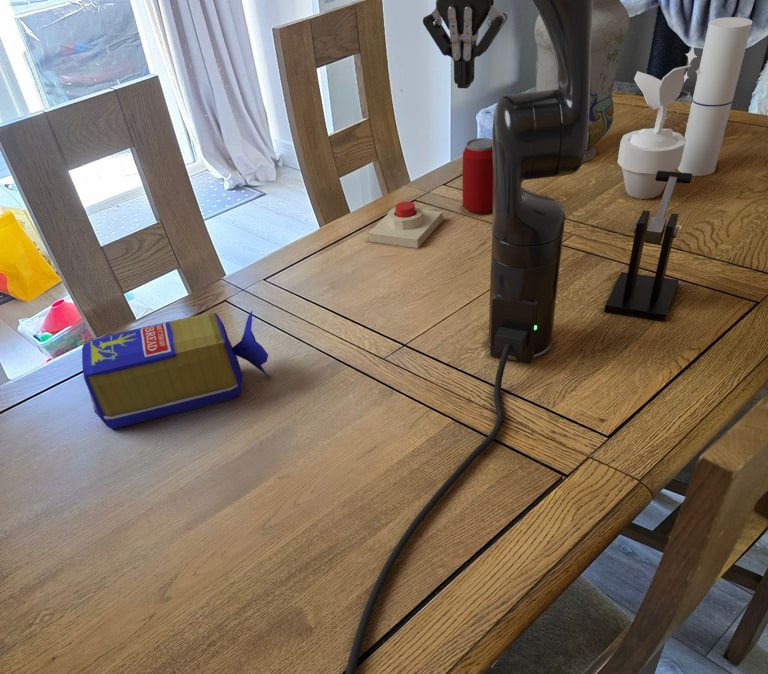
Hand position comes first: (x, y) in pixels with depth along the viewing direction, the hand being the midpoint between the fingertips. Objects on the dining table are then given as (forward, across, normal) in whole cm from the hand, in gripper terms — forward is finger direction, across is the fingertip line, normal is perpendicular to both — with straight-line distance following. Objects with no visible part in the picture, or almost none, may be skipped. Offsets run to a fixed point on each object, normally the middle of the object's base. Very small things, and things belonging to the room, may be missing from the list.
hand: (464, 86), depth 109 cm
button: (+22, -13, +2) cm, 26 cm away
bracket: (+26, +33, -10) cm, 43 cm away
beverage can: (+25, -2, +15) cm, 30 cm away
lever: (+14, +33, -5) cm, 37 cm away
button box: (+25, -13, +2) cm, 28 cm away
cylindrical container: (+25, +34, +44) cm, 61 cm away
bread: (+26, -22, -55) cm, 65 cm away
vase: (+25, +7, +46) cm, 53 cm away
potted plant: (+25, +26, +30) cm, 47 cm away
